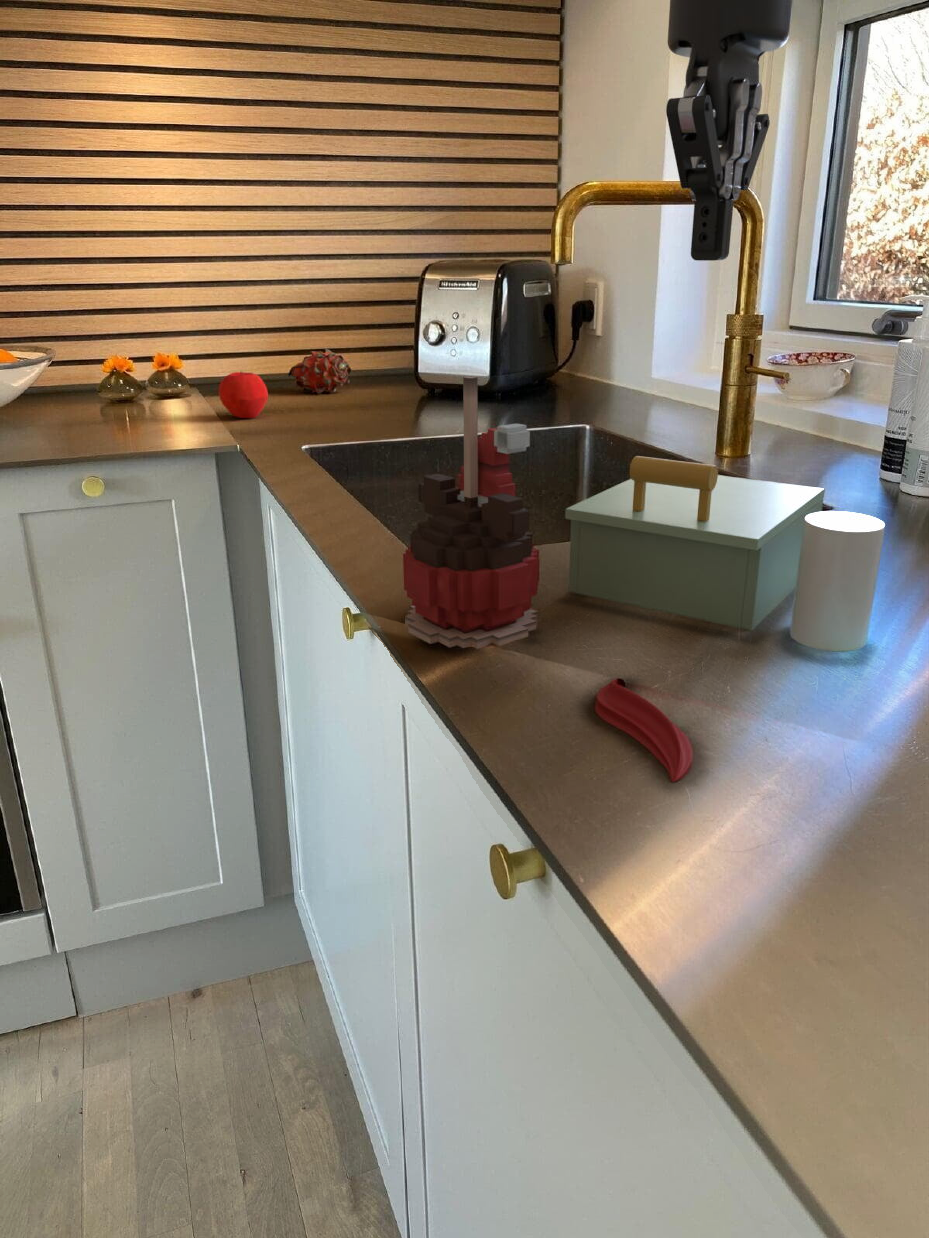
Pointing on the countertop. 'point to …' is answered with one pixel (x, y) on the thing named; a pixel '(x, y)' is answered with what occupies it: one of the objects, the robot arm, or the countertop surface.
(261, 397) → the apple
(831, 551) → the white cylinder
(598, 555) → the bin
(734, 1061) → the countertop surface
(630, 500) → the bin lid
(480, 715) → the countertop surface
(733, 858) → the countertop surface
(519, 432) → the cake
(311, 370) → the dragon fruit
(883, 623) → the countertop surface
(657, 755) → the cayenne pepper
